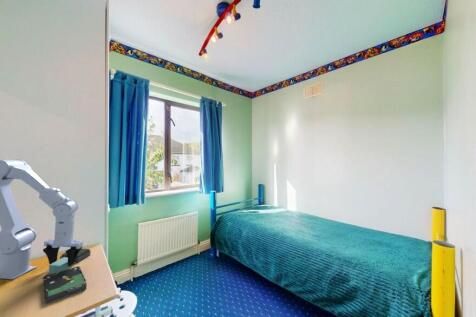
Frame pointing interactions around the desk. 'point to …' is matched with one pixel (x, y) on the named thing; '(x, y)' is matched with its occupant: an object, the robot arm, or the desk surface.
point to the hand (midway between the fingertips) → (62, 264)
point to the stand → (79, 255)
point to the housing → (59, 265)
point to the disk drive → (63, 284)
